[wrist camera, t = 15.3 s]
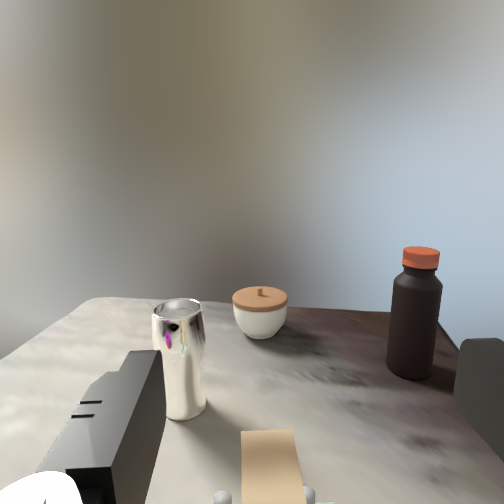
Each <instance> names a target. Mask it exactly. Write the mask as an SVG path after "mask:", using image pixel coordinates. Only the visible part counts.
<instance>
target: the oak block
mask: <svg viewBox="0 0 504 504" xmlns="http://www.w3.org/2000/svg"><path fill="white" fill-rule="evenodd" d="M241 484H242V504H307V503H306V498H305V493H304V488H303V483H302V478H301V473H300V468H299V463H298V458H297V453H296V448H295V443H294V438H293V433H292V429H281V430H258V431H241Z"/></svg>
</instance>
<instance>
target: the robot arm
mask: <svg viewBox="0 0 504 504" xmlns="http://www.w3.org/2000/svg"><path fill="white" fill-rule="evenodd" d="M454 399H455V403H456V405H457V408H458V410H459V412H460V413H461V414H462V416H463V417H464V418H465V419H466V420H467V421H468V423H469V424H470V425H471V426H472V427H473V428H474V429H475V430H476V432H477V433H478V434H479V435H480V436H481V437H482V438H483V439H484V441H485V442H486V443H487V444H488V445H489V446H490V447H491V448H492V450H493V451H494V452H495V453H496V454H497V455H498V456H499V458H500V459H501V460H502V461H503V462H504V342H503V341H502V340H500V339H498V338H476V339H466V340H464V341H463V342H462V344H461V346H460V352H459V358H458V364H457V371H456V377H455V384H454ZM166 409H167V405H166V391H165V381H164V370H163V359H162V353H161V351H160V350H141V351H130V352H129V353H128V355H127V357H126V358H125V360H124V362H123V364H122V366H121V368H120V369H119V371H117V372H107V373H105V374H104V375H103V376H102V377H100V378H99V379H98V380H97V381H95V382H94V383H93V384H92V385H90V387H89V388H88V390H87V392H86V393H85V395H84V396H83V398H82V399H81V401H80V404H79V405H78V406H77V407H76V409H75V410H74V412H73V414H72V417H71V419H69V420H68V421H67V423H66V424H65V426H64V428H63V429H62V431H61V432H60V434H59V435H58V437H57V439H56V440H55V442H54V443H53V445H52V446H51V448H50V450H49V451H48V453H47V454H46V456H45V457H44V459H43V461H42V462H41V464H40V465H39V467H38V468H37V470H36V471H35V473H34V475H32V476H28V477H26V478H24V479H21V480H19V481H17V482H15V483H14V484H12V485H10V486H8V487H7V488H5V489H4V490H2V491H1V492H0V504H145V500H146V496H147V492H148V489H149V485H150V481H151V477H152V473H153V469H154V466H155V462H156V458H157V454H158V450H159V447H160V443H161V439H162V435H163V431H164V427H165V422H166Z"/></svg>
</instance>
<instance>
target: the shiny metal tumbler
mask: <svg viewBox="0 0 504 504" xmlns="http://www.w3.org/2000/svg"><path fill="white" fill-rule="evenodd" d="M202 307H203V306H202V304H201V302H199V301H197V300H194V299H189V298H177V299H170V300H166V301H163V302H160V303H158V304H156V305H155V306H154V307H153V308H152V310H151V313H152V342H153V349H154V350H160V351H161V353H162V359H163V370H164V381H165V391H166V405H167V409H166V416H167V417H168V418H170V419H172V420H177V421H184V420H189V419H192V418H194V417H196V416H198V415H199V414H200V413H201V412H202V411H203V410H204V409H205V406H206V398H205V394H204V391H203V387H202V373H203V365H204V358H205V348H206V331H205V322H204V315H203V308H202Z"/></svg>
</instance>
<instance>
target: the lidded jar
mask: <svg viewBox="0 0 504 504" xmlns="http://www.w3.org/2000/svg"><path fill="white" fill-rule="evenodd" d="M233 308H234V316H235V319H236V322H237V324H238V326H239V327H240V329H241V330H242V331H243V332H245V334H246V335H247V336H248V337H250V338H253V339H267V338H270V337H272V336H274V335H275V333H276V332H277V331H278V330H279V329H280V328H281V326H282V325H283V323H284V320H285V317H286V311H287V295H286V293H284V292H283V291H281V290H279V289H276V288H272V287H249V288H244V289H241V290H239V291H237V292H236V293H235V294H234V295H233Z"/></svg>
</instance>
